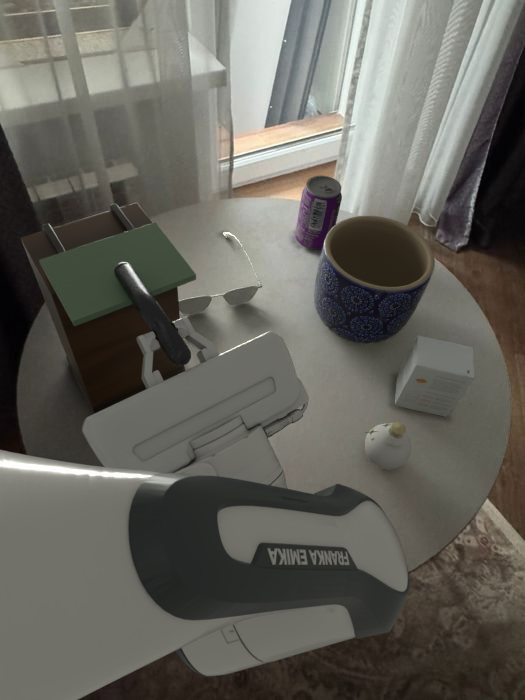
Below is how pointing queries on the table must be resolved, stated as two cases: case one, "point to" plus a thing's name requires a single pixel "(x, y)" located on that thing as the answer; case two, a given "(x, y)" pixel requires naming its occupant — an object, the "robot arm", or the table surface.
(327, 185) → the beverage can
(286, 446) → the table surface
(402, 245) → the planter
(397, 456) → the ornament
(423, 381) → the small box
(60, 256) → the door
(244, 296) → the eyeglasses
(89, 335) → the cabinet
